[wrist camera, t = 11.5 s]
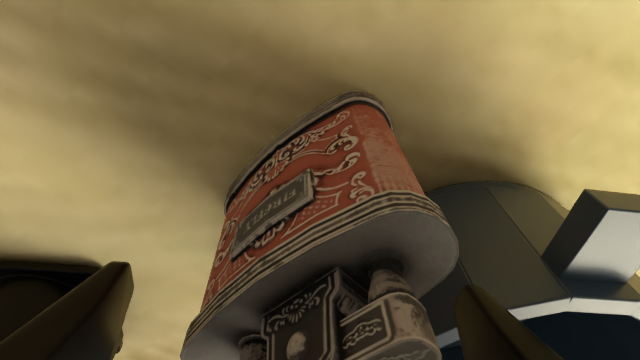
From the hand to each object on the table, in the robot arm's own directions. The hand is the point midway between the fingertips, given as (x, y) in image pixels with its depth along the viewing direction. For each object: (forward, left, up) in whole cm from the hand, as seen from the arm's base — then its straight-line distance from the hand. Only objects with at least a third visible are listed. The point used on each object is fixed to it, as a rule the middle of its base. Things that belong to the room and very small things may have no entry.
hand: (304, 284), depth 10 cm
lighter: (0, 0, -7) cm, 7 cm away
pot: (+9, -6, -6) cm, 13 cm away
